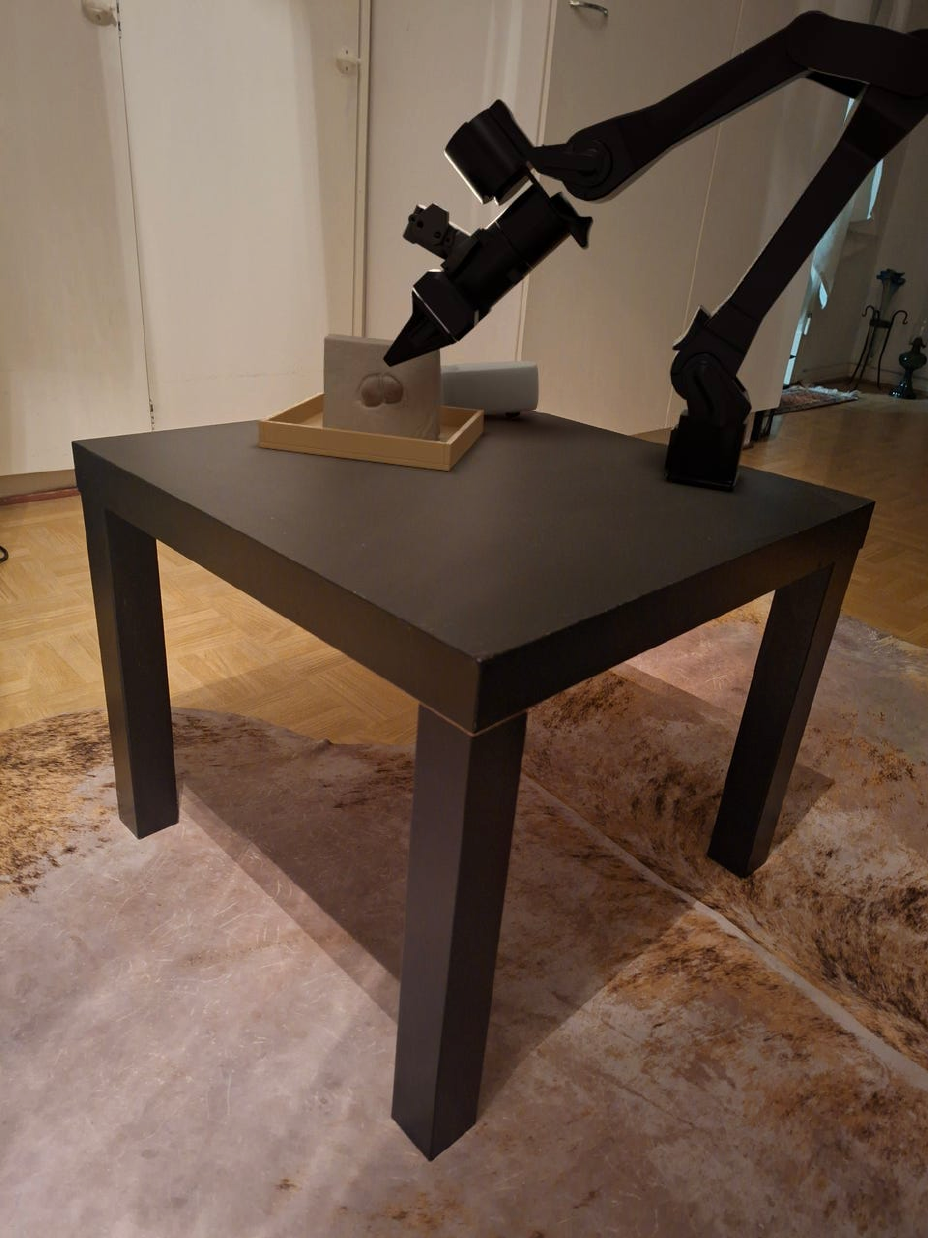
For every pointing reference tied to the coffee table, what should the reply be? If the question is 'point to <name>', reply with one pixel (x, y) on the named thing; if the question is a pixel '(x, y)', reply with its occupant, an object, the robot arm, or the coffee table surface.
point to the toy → (491, 386)
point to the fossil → (380, 389)
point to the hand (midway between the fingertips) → (395, 356)
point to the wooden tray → (370, 437)
